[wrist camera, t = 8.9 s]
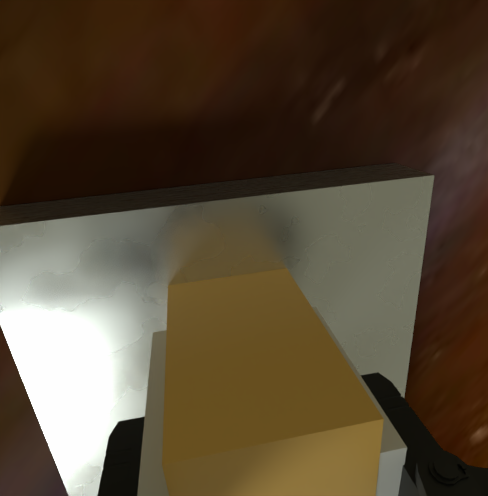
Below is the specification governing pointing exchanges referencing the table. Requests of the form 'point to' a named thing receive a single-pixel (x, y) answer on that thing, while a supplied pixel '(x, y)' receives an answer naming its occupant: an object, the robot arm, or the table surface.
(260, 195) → the grey plate
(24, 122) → the table surface
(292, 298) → the tan rectangular block
